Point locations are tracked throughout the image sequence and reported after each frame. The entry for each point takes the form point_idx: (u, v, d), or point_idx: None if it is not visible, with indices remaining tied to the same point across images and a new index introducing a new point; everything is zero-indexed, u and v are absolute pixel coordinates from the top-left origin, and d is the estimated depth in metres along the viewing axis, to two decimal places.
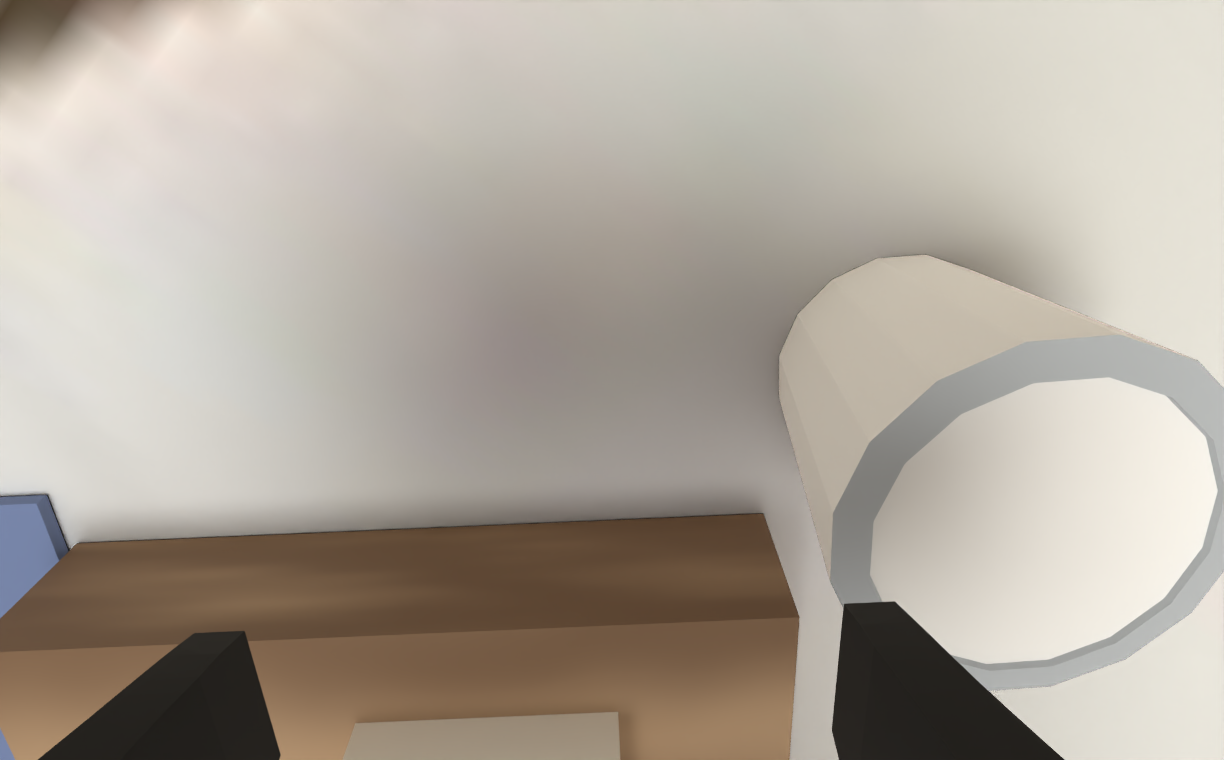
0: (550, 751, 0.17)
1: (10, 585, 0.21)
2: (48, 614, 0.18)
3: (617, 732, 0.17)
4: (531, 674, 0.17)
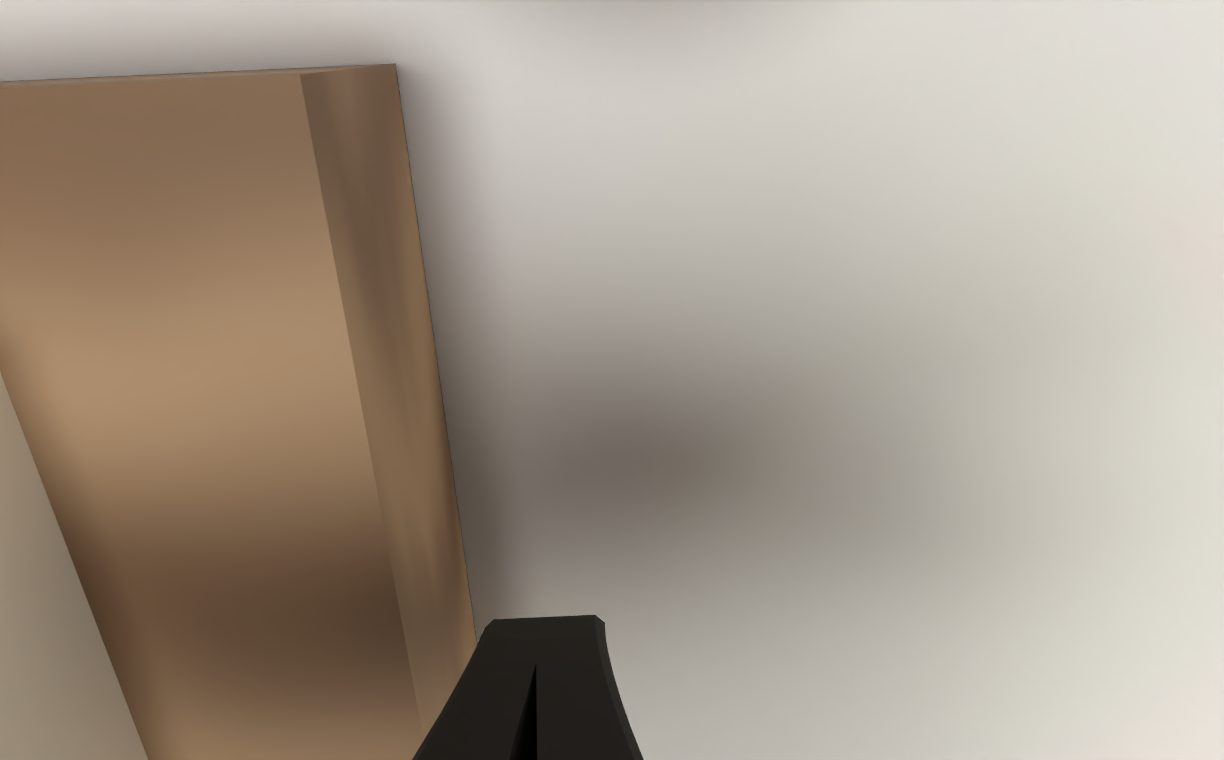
0: None
1: None
2: None
3: None
4: None
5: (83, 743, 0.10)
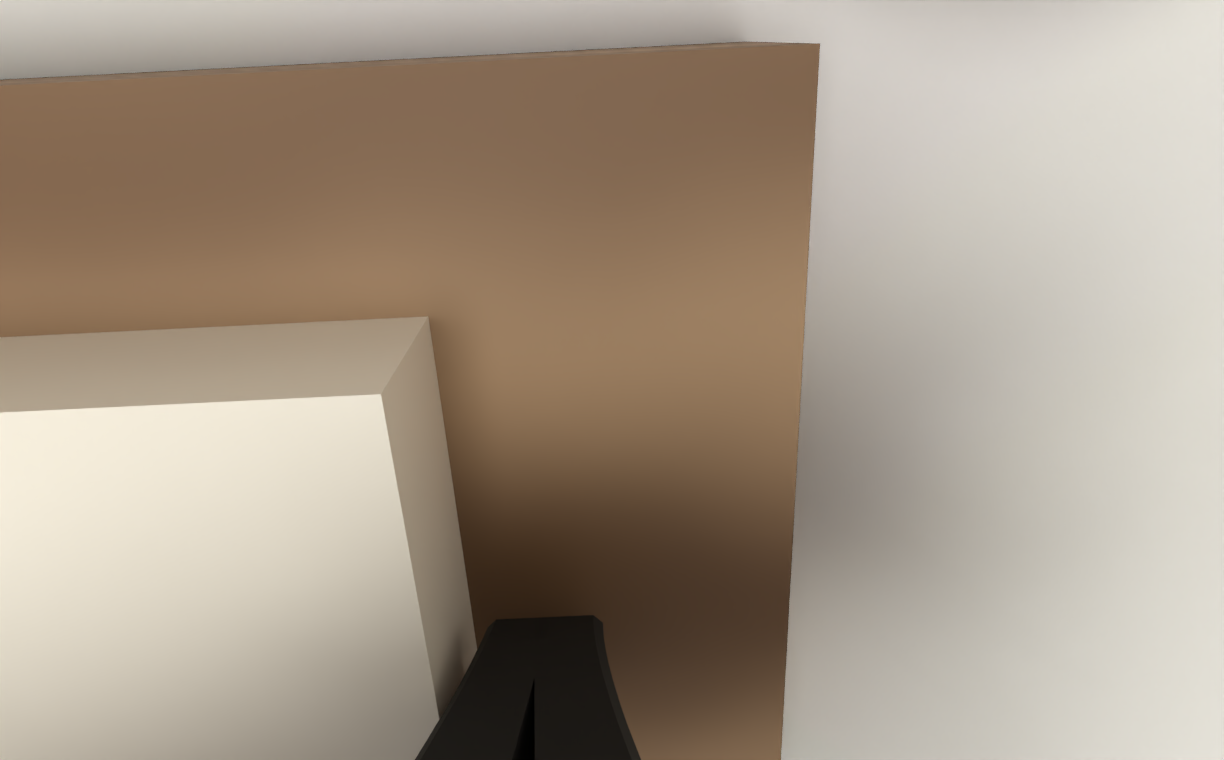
0: (249, 359, 0.07)
1: None
2: None
3: (414, 335, 0.08)
4: (231, 209, 0.08)
5: None
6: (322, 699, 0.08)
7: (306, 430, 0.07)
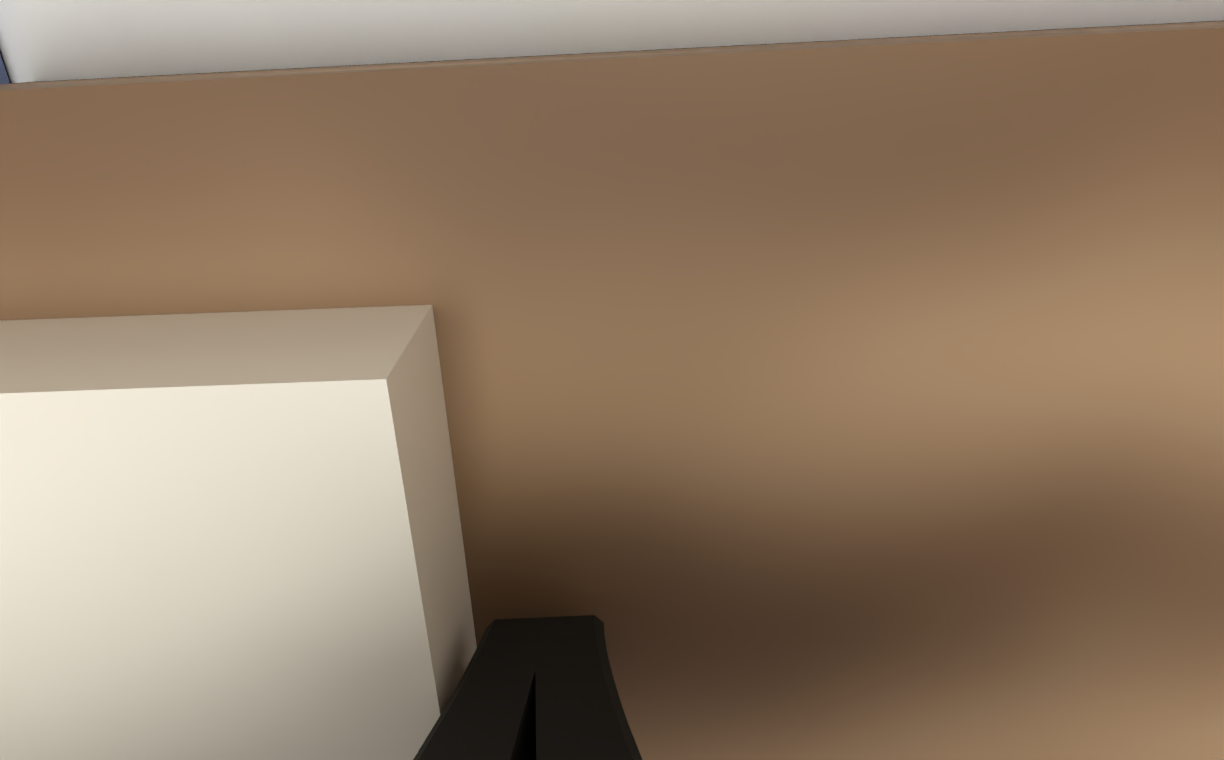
0: (253, 344, 0.07)
1: None
2: None
3: (418, 323, 0.08)
4: (1005, 174, 0.08)
5: None
6: (322, 687, 0.08)
7: (310, 414, 0.07)
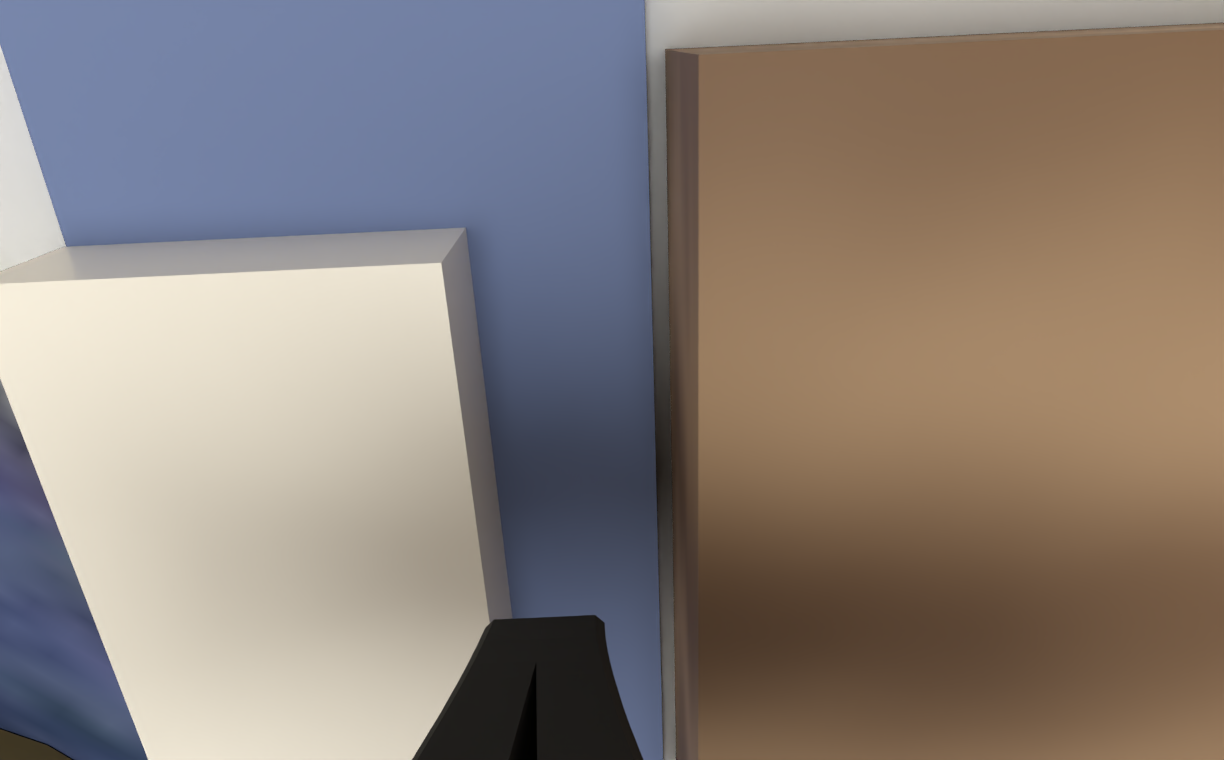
0: (127, 259, 0.11)
1: (541, 128, 0.11)
2: (783, 47, 0.09)
3: None
4: None
5: None
6: None
7: None
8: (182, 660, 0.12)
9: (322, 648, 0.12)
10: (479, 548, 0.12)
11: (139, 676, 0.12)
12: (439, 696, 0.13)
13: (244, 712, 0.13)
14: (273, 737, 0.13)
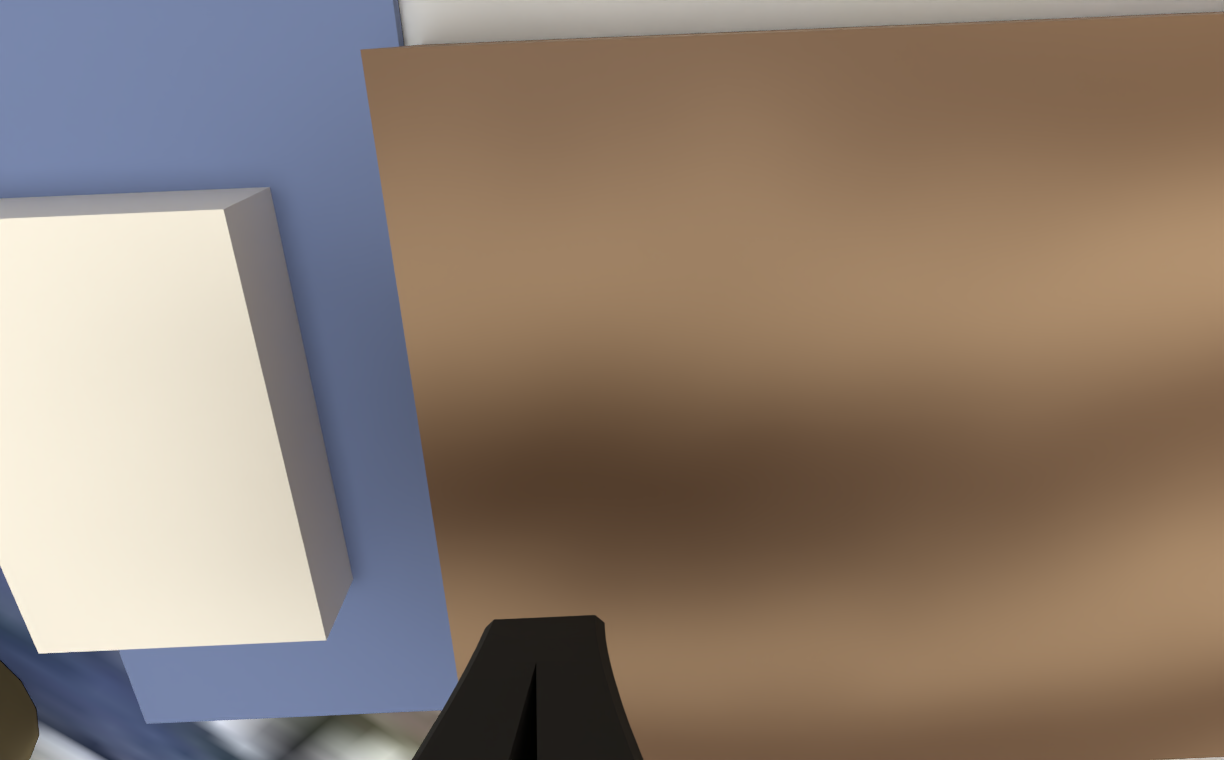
0: None
1: (322, 107, 0.14)
2: None
3: None
4: None
5: None
6: None
7: None
8: (47, 538, 0.15)
9: (160, 528, 0.15)
10: (279, 443, 0.14)
11: (13, 551, 0.15)
12: (260, 570, 0.16)
13: (101, 584, 0.16)
14: (127, 605, 0.16)
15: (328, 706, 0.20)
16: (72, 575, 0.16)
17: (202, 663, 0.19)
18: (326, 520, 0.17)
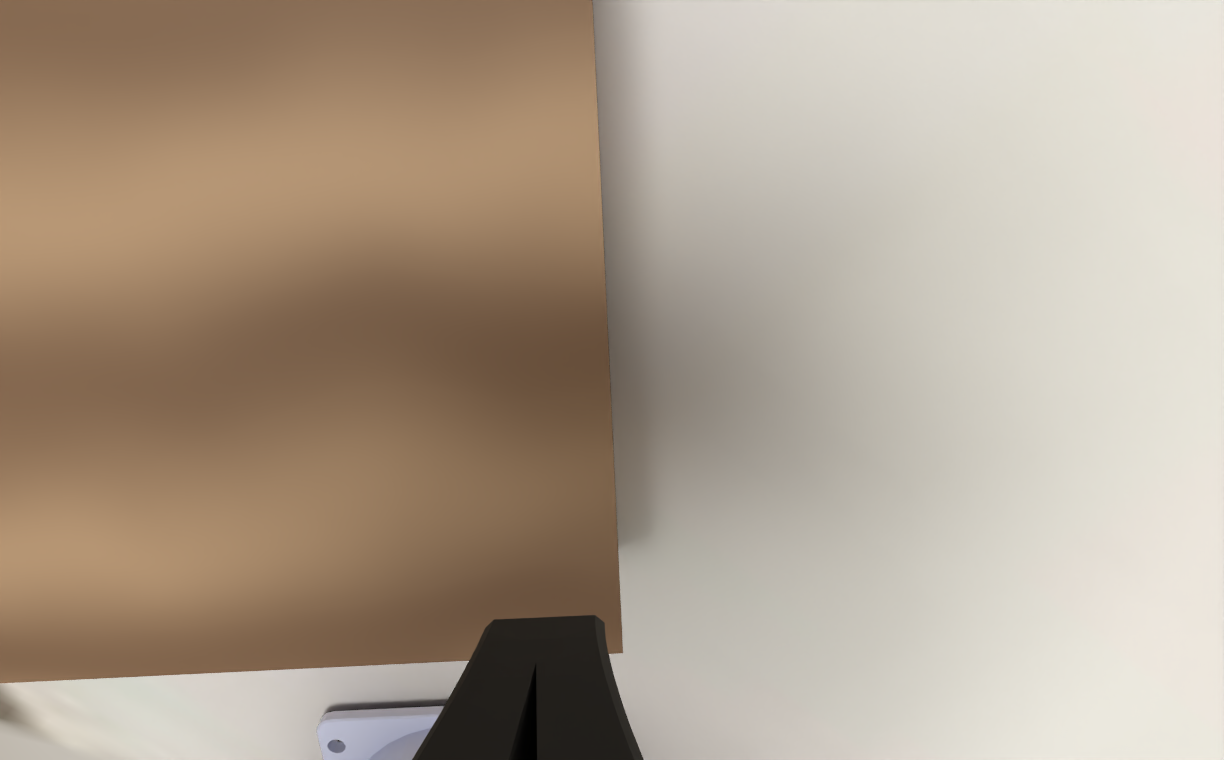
0: None
1: None
2: None
3: None
4: (229, 47, 0.13)
5: None
6: None
7: None
8: None
9: None
10: None
11: None
12: None
13: None
14: None
15: None
16: None
17: None
18: None
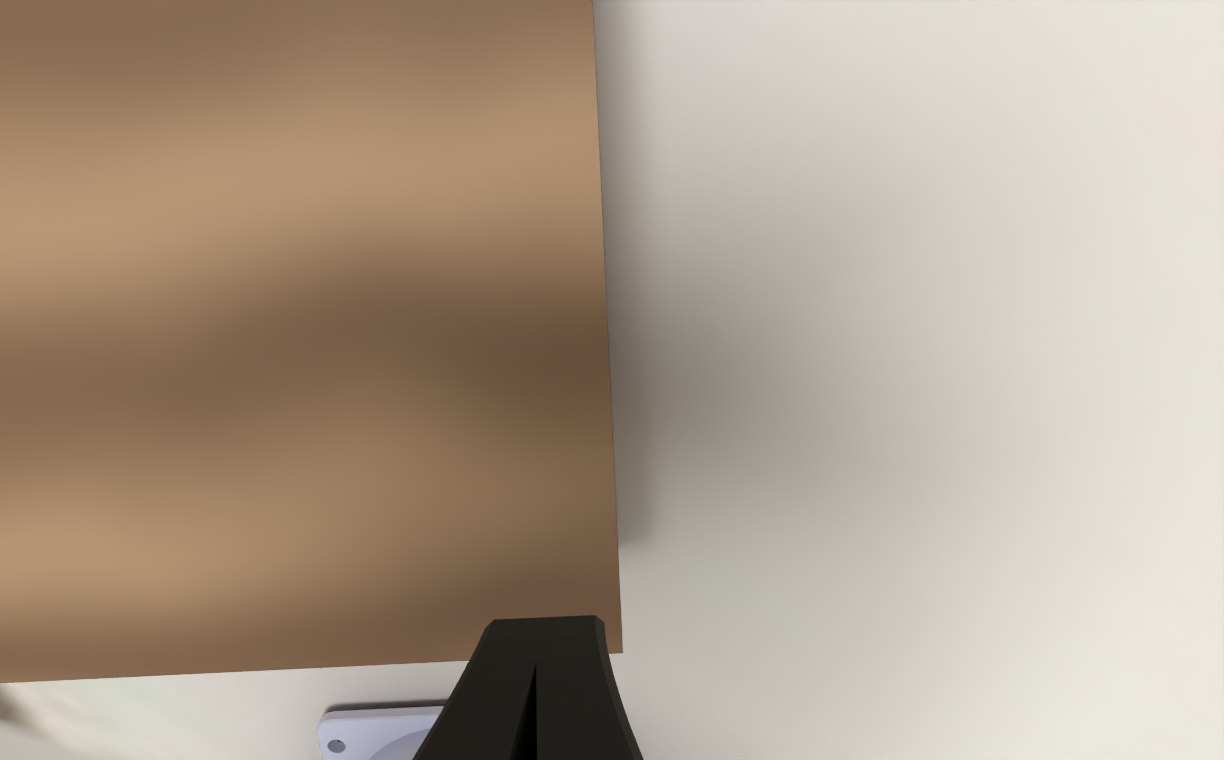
0: None
1: None
2: None
3: None
4: (229, 47, 0.13)
5: None
6: None
7: None
8: None
9: None
10: None
11: None
12: None
13: None
14: None
15: None
16: None
17: None
18: None
